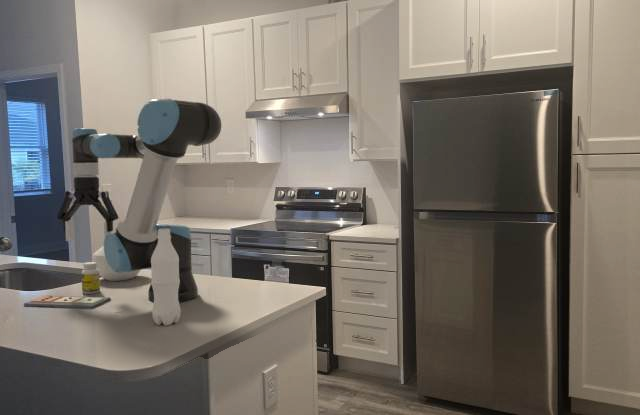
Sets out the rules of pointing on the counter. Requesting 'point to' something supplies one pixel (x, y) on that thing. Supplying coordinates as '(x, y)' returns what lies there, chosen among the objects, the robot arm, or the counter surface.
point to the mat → (68, 301)
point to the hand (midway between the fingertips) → (88, 241)
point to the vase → (106, 270)
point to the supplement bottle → (90, 278)
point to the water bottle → (165, 280)
